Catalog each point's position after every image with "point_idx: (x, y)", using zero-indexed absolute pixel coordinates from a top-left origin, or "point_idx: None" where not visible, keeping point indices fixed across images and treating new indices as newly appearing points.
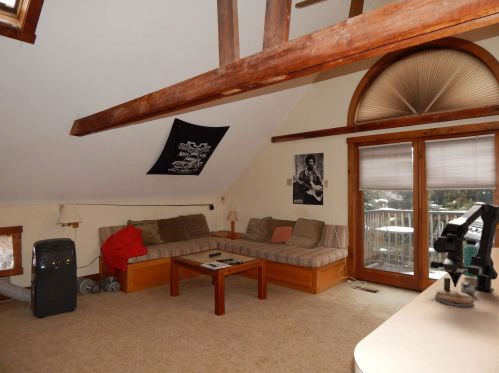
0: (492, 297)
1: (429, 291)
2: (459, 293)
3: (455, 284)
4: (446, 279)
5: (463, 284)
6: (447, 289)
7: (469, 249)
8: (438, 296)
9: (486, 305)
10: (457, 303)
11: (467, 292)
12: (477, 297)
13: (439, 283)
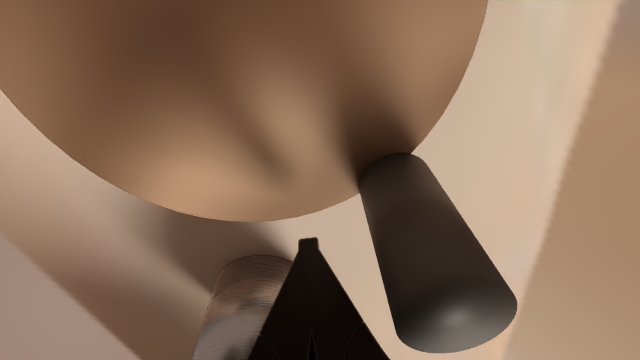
0: (139, 347)
1: (558, 113)
2: (230, 165)
3: (297, 265)
4: (458, 268)
5: None
6: (382, 165)
7: None
8: None
9: (3, 168)
10: None
11: (236, 285)
12: (186, 286)
13: (494, 343)
